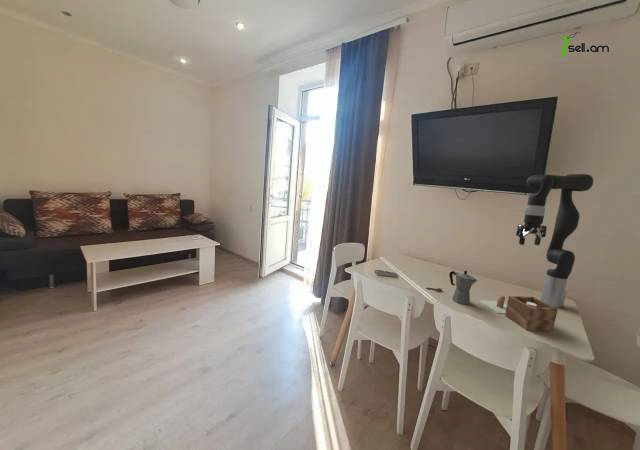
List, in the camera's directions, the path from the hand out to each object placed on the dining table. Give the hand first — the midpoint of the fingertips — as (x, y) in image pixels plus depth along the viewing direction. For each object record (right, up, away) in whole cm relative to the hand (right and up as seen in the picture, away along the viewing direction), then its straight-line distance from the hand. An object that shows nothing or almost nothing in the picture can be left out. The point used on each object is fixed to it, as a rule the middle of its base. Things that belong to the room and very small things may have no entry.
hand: (529, 244), depth 134 cm
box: (-8, -38, -9) cm, 40 cm away
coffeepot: (-30, -33, +13) cm, 46 cm away
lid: (-11, -36, +7) cm, 38 cm away
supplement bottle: (-8, -38, -9) cm, 40 cm away
